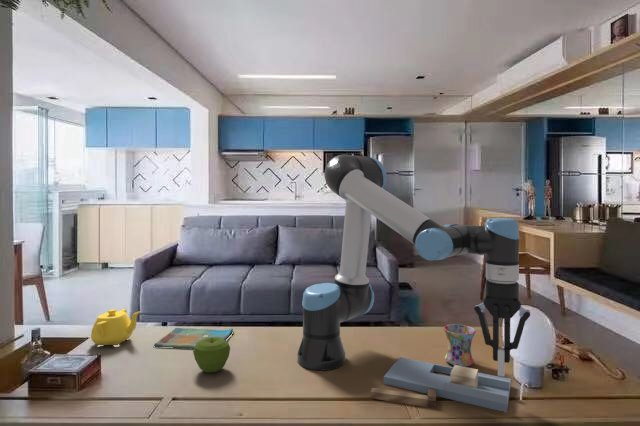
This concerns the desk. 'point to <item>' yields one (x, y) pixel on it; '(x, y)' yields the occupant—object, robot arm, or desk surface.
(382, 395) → the crook tool
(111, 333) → the teapot
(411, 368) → the board
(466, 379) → the block
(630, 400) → the desk surface
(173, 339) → the colourful book
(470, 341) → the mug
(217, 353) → the apple
